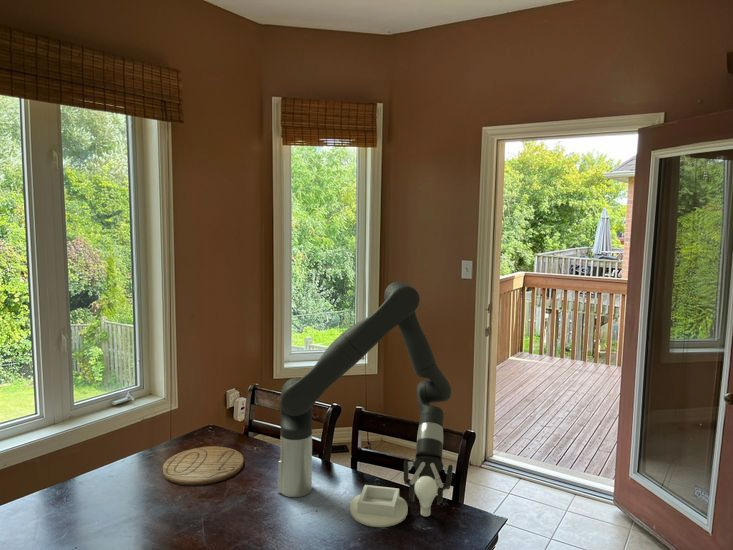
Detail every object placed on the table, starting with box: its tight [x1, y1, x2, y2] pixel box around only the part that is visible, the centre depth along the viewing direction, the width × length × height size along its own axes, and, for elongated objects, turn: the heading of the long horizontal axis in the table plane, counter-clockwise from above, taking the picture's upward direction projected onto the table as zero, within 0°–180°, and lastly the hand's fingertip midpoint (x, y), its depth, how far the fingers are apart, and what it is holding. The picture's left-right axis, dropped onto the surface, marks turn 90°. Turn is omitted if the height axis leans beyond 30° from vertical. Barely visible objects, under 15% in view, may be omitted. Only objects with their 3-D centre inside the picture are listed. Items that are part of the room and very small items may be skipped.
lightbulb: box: [414, 476, 438, 518], centre depth 143 cm, size 6×6×11 cm
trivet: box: [162, 446, 244, 486], centre depth 170 cm, size 25×25×2 cm
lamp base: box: [349, 484, 409, 528], centre depth 145 cm, size 16×16×4 cm
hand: (425, 501), depth 141 cm, fingers closed on lightbulb, 6 cm apart
